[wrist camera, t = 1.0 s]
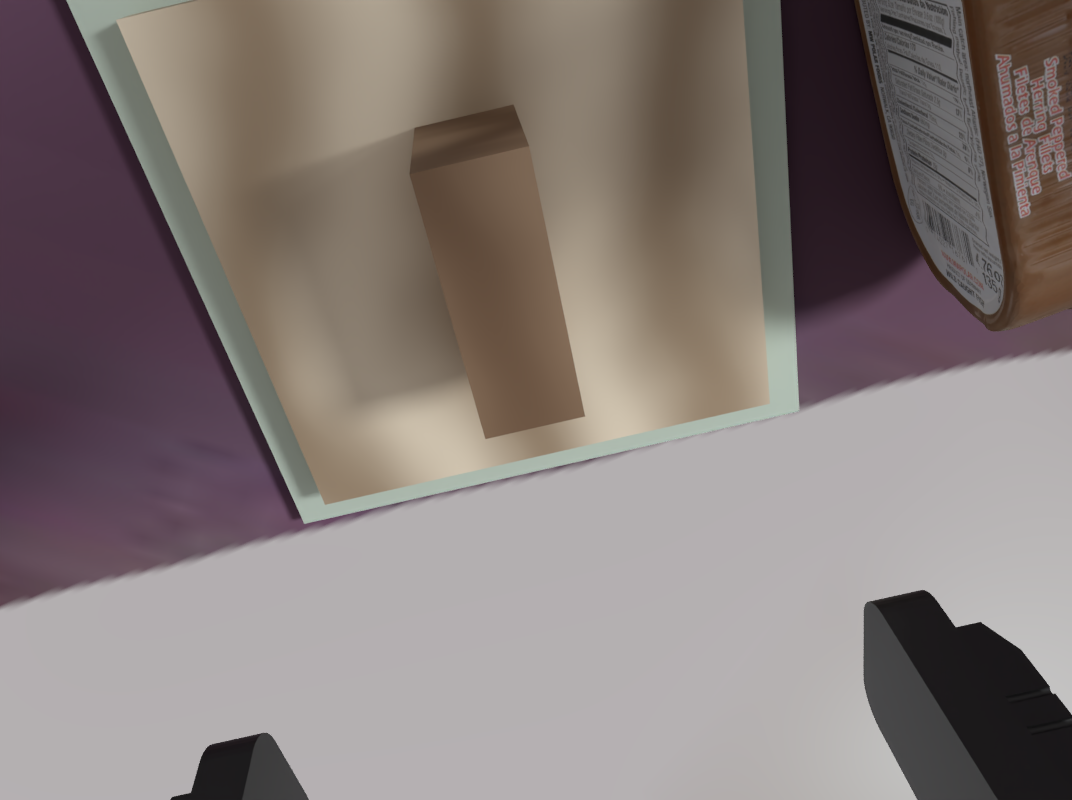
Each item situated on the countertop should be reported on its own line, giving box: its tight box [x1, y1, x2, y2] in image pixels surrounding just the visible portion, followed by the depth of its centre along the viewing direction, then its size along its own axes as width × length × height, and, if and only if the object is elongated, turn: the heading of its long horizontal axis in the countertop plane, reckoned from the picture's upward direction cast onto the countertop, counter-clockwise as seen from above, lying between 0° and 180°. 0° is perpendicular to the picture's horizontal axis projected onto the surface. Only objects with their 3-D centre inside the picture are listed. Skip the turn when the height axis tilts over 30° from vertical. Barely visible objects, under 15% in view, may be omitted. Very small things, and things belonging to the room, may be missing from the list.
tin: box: [854, 0, 1072, 331], centre depth 23 cm, size 15×3×8 cm, turn 24°
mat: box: [66, 0, 799, 524], centre depth 28 cm, size 20×20×1 cm
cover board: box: [116, 0, 770, 505], centre depth 25 cm, size 17×17×6 cm
